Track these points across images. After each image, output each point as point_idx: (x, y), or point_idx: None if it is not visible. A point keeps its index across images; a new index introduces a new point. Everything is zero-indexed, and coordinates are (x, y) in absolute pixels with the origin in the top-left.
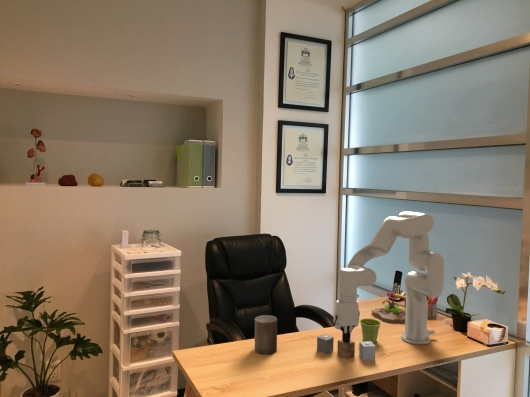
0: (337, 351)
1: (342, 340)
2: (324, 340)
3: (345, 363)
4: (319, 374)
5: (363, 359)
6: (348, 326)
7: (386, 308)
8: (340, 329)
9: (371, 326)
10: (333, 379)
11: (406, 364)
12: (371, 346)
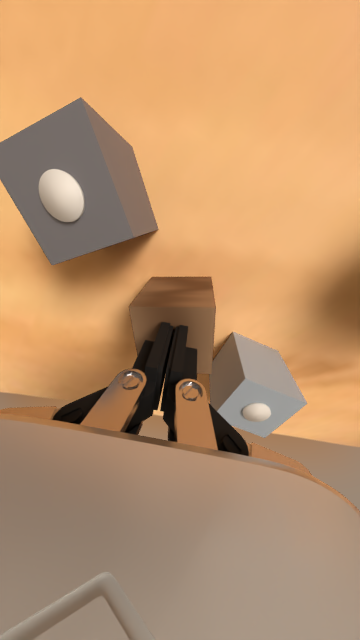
0: (148, 282)
1: (158, 322)
2: (44, 242)
3: (133, 351)
4: (17, 361)
5: None
6: (193, 433)
7: None
8: (89, 399)
9: None
10: (49, 393)
11: (306, 435)
12: (246, 429)
